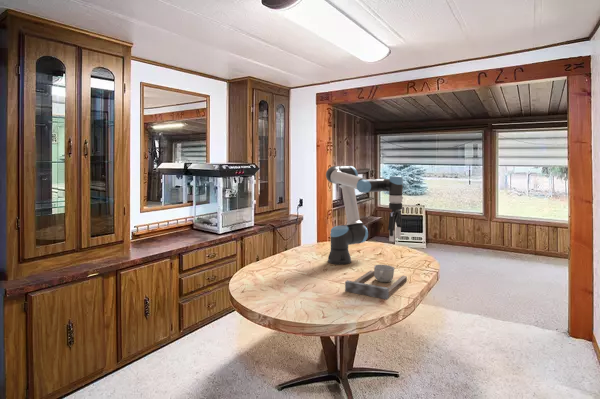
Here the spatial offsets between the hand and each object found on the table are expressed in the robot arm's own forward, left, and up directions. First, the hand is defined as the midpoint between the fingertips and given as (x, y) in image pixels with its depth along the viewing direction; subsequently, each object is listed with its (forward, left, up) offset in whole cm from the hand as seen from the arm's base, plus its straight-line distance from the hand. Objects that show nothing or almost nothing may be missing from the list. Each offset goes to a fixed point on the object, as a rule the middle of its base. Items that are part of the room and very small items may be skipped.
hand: (395, 239), depth 216 cm
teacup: (0, -19, -20) cm, 28 cm away
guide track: (0, -27, -20) cm, 34 cm away
